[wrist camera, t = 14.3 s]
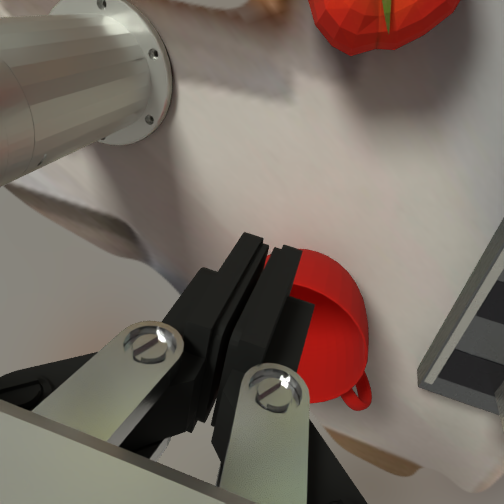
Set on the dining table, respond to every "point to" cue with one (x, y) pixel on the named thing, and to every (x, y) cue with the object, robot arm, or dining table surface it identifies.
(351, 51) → the tomato
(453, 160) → the dining table surface
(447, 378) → the breaker panel
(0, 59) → the robot arm
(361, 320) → the ceramic cup
